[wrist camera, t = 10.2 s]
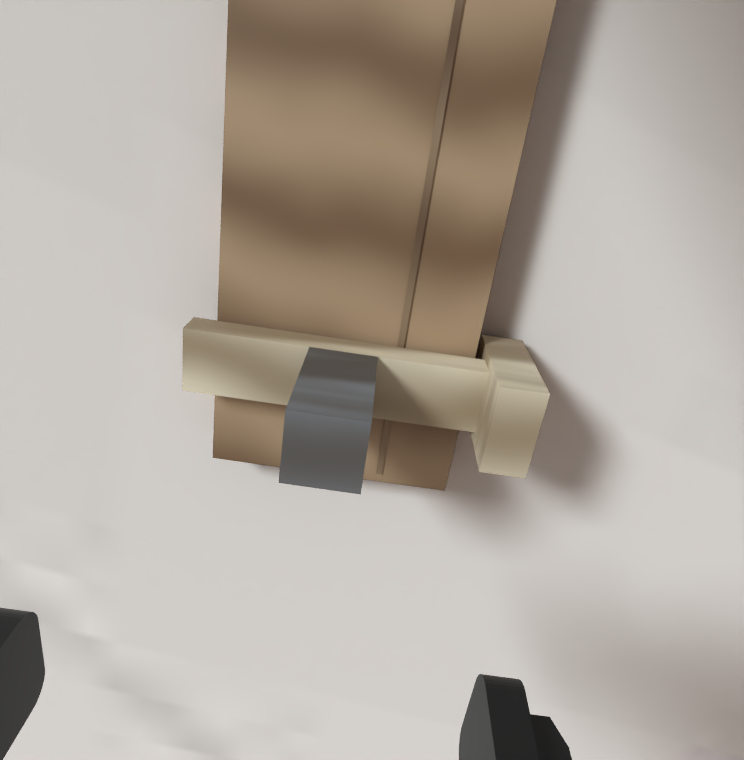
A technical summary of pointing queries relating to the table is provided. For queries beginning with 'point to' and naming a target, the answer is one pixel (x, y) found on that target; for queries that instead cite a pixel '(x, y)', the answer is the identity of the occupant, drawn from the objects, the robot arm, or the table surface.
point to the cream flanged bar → (369, 395)
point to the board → (370, 188)
